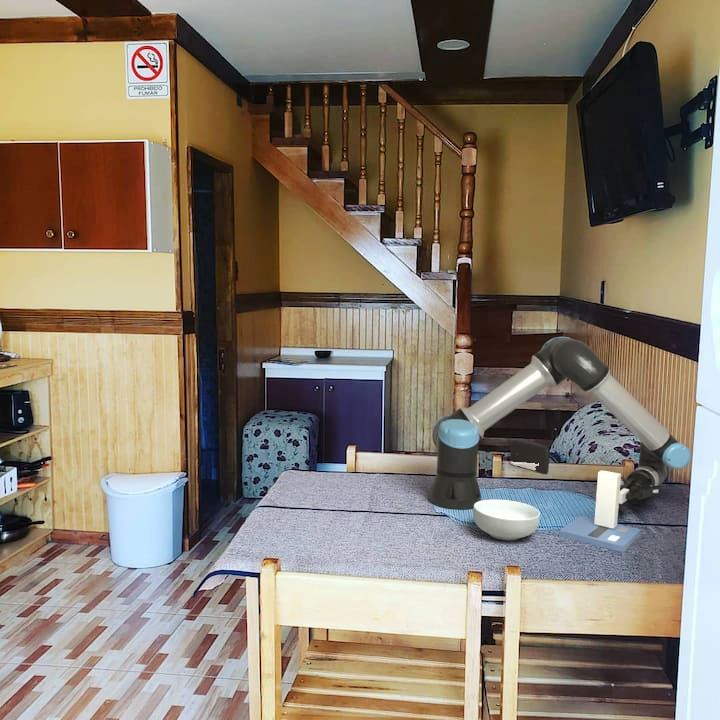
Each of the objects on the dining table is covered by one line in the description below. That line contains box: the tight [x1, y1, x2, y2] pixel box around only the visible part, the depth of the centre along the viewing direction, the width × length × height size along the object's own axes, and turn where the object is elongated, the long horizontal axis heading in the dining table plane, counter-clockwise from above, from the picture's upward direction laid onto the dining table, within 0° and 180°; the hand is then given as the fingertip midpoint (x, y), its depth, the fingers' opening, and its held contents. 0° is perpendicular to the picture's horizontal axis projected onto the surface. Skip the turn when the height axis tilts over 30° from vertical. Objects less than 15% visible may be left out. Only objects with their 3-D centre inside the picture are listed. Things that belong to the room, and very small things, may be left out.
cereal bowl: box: [472, 499, 541, 541], centre depth 174 cm, size 17×17×7 cm
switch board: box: [558, 515, 642, 553], centre depth 177 cm, size 16×16×2 cm
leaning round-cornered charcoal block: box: [509, 439, 550, 475], centre depth 242 cm, size 16×5×9 cm, turn 39°
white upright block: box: [594, 469, 622, 529], centre depth 179 cm, size 3×5×14 cm, turn 53°
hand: (619, 498), depth 186 cm, fingers closed
